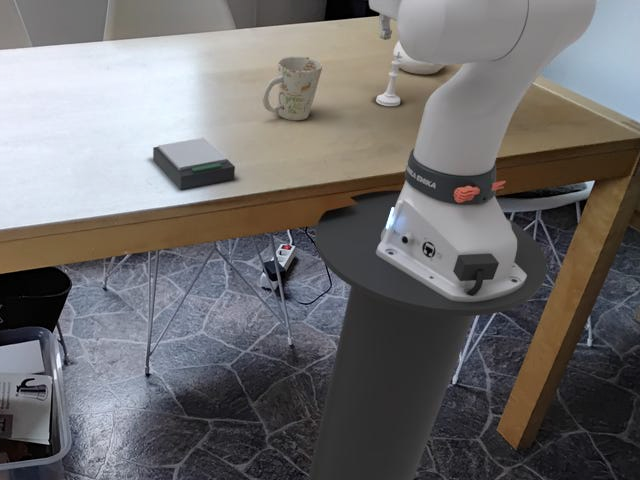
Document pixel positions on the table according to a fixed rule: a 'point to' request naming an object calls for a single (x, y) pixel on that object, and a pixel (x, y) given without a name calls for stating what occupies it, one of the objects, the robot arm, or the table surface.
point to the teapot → (415, 63)
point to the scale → (193, 163)
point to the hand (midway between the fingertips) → (399, 46)
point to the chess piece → (391, 85)
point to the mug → (294, 87)
